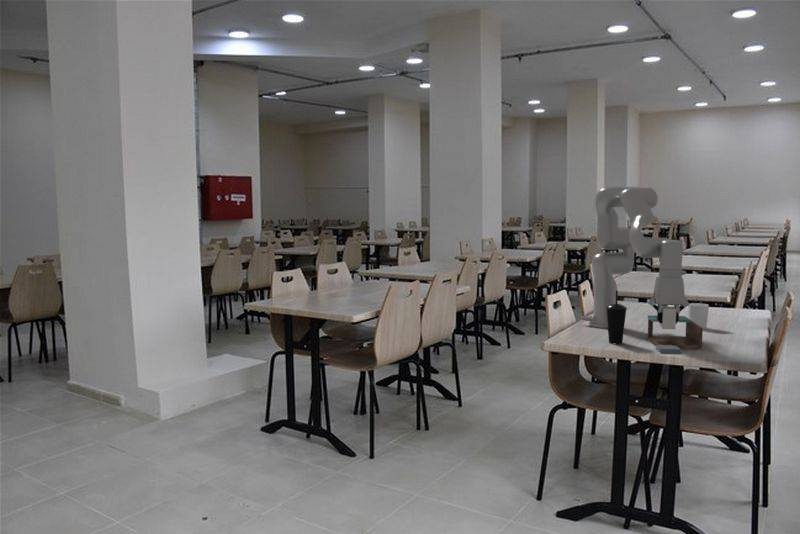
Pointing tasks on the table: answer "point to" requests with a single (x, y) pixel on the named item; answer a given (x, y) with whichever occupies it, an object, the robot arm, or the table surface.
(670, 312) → the block
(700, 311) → the white cup
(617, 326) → the drinking cup
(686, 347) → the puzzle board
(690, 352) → the table surface
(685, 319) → the cover
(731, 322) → the table surface
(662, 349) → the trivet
